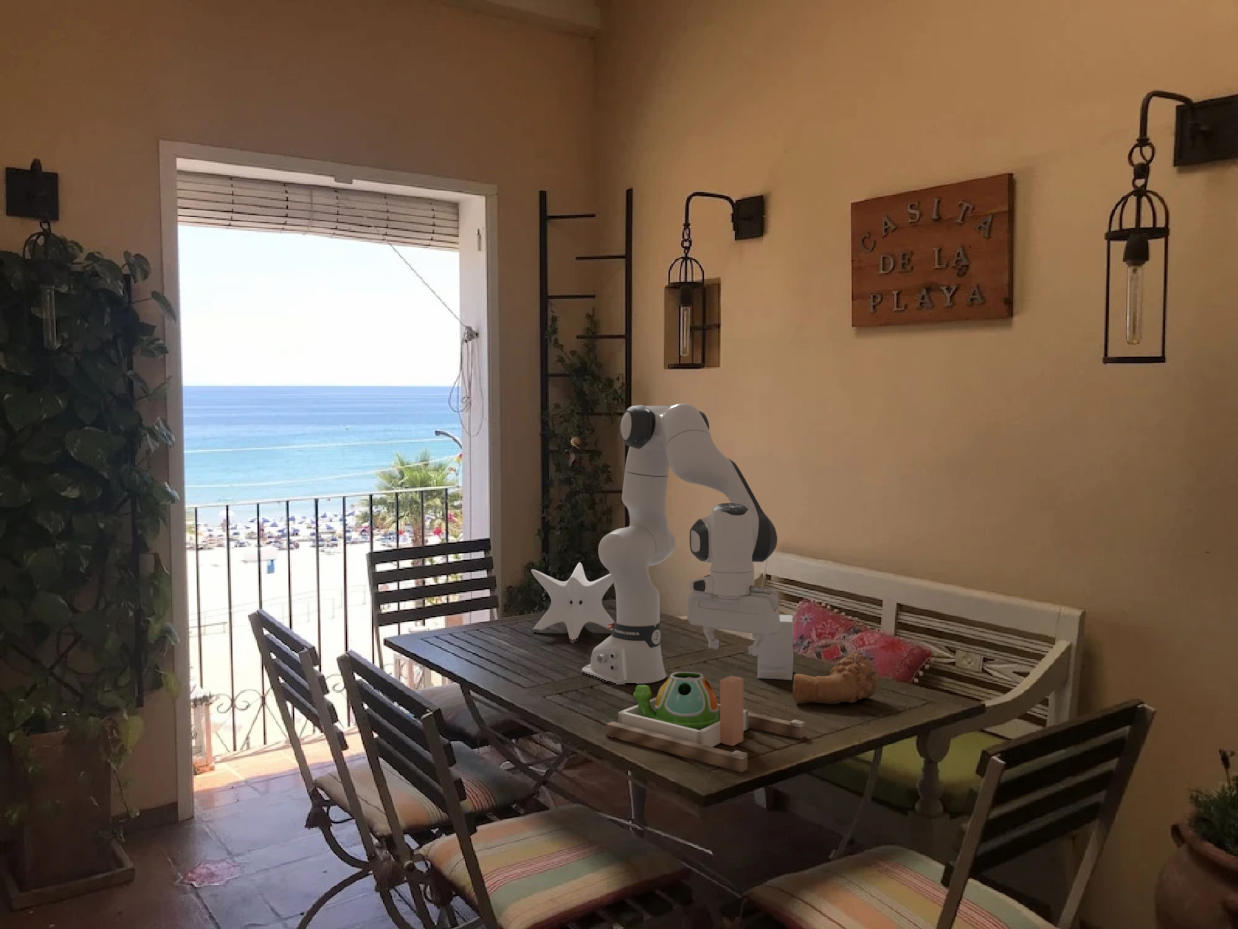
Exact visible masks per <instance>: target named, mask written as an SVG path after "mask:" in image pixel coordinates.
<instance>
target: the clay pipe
mask: <svg viewBox="0 0 1238 929" xmlns="http://www.w3.org/2000/svg"><path fill="white" fill-rule="evenodd" d="M880 680H881V678H880V676H879V673H878V671H877V669H876V668H875V666H874V663H872V662H871V661H870V659H869V658H868V657H866V656H864V655H863V654H859V653H850V654H849V655H847V656H846V657H844V658H842V659H841V660H840V662H837V663H836V665H834V666H833V667H832V669H831V670H830V672H829V675H826V676H825V675H824V676H821V675H817V676H810V675H807V674H803V673H795V674H794V675H793V685H792V696H793V699H794V702H795V703H796V704H807V703H820V704H821V703H825V704H834V703H844V702H845V703H849V704H854V703H856V702H858V701H860V700H862V699H866V698H871V697H873V696H874V695H875V694H876V693H877V691H878V690H879V687H880V682H881V681H880Z"/></svg>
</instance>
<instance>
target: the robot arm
mask: <svg viewBox="0 0 1238 929" xmlns="http://www.w3.org/2000/svg"><path fill="white" fill-rule="evenodd" d="M620 436H621V439H622V441H623V442H624V444H625V446H628V452H627V456H626V461H625V466H624V475H623V482H622V483H623V484H622V493H621V501H622V503H623V505H624V506H625V507H626V508H627V511H628V516H629V526H626V527H621V528H620V527H619V528H617V529H615V530H612V531H611V532H609V533H607V534H606V535H604V536H603V537H602V538H601V540H600V542H599V544H598V549H597V550H598V558H599V560H600V562H601V564H602V565H603V567H605V568H606V569H607V570H608V572H609V574H611V577H612V579H613V586H614V590H615V599H616V600H615V602H616V603H615V604H616V607H615V608H616V621H615V620H614V623H612V624H609V625H611V626H610V627H609V628H608V629H607V630H609V629H610V628H613V630H612V631H611V633H610V636H608V637H606V638H605V639H604V640H603V641H602V642H601V643H599V644H597V645H596V646H595V647H594V648H593V650H592V652H591V656H590V663H589V664H587V665H585V666H583V667H582V669H581V672H582V671H583V672H585V673H587V674H590V675H594V676H597V677H599V678H601V679H604V680H606V681H605V682H607V681H611V682H613V683H616V684H615V685H626V684H625V683H636V685H637V684H638V685H641V684H651V683H656V682H661V681H662V680H664V679H666V678H667V674H666V670H665V666H664V660H663V656H662V655H663V654H662V648H661V647H662V645H661V642H662V621H660V620H661V619H660V618H661V617H660V614H661V613H660V592H659V590H658V588H657V587H656V586H654V584H653V582H652V578H651V576H650V572H649V568H650V567H652V566H656V565H659V564H662V563H663V562H664V561H665V560H667V559H668V558H669V559H670V557H671V556H672V555H673V553H674V552H675V548H676V539H675V535H674V533H673V532H672V530H671V529H670V527H669V524H668V519H667V514H666V513H667V512H666V501H667V500H666V497H667V491H668V490H667V488H668V480H669V471H670V470H669V469H671V471H672V472H673V474H674V475H675V476H677V477H678V478H680V479H681V480H682V481H685V482H686V483H689V484H693V485H698V486H702V487H707V488H710V489H713V490H715V491H718V492H720V493H722V494H723V495H725V497H727V498H728V500H729V502H722V503H719V504H716V505H714V506H713V507H712V509H711V513H710V514H709V515H707V516H705V517H703V518H698V519H697V520H696V521H695V522H694V524H693V525H692V526H691V527H690V529H689V550H690V553H691V554H692V555H693V556H694V557H695V558H696V559H698V561H700V562H703V563H711V566H710V572H709V573H710V574H707V575H703V576H704V577H699V578H696V579H693V580H691V581H690V582H689V585H688V586H689V590H690V591H691V592H689V595H688V598H687V607H686V608H687V610H686V612H687V614H686V615H687V620H688V622H689V624H690V625H691V626H697V627H702V631H703V634H704V636H705V638H706V639H707V641H708V644H707V645H708V649H709V650H710V649H711V650H717V649H719V647H720V644H719V643H720V639H717V638H716V637H715V634H714V631H715V629H716V630H718V629H719V630H725V631H731V632H737V633H738V632H741V633H745V634H752V640H754V641H753V643H752V644H750V645H748V646H747V654H748V655H749V656H753V657H757V656H758V654H759V645H760V644H761V642H762V640H763V638H764V635H766V636H771V635H774V634H776V633H777V632H778V631H779V630H780V617H779V615H780V611H779V596H778V593H777V592H775V591H774V590H773V589H772V588H769V587H760V586H755V566H754V563H763V562H765V561H766V560H767V559H769V558H770V557H771V555H772V554H773V553H774V552H775V550H776V548H777V546H778V534H777V530H776V528H775V525H774V523H773V522H772V521H771V519H770V518H769V517H768V515H767V514H766V513H765V511H764V510H763V508H762V507H761V505H760V504H759V501H758V500H757V498H756V496H755V494H754V492H753V491H752V489H751V487H750V485H749V484H748V482H747V480H746V478H745V476H744V475H743V473H742V472H741V469H740V468H739V467H738V465H737V463H735V461H734V460H732V459H730V458H728V457H727V456H726V455H725V454H724V453H722V452H721V450H720V449H719V448H718V447H717V446H716V444H715V442H714V441H713V438H712V436H711V433H710V423H709V420H708V417H707V416H706V414H705V412H702V411H700V410H699V409H698V408H697V407H695V406H694V405H692V404H690V403H684V402H683V403H682V402H681V403H677V404H673V405H644V404H637V405H631V406H629V407H628V408H627V409H626V410H625V411H624V412H623V414H622V416H621V420H620ZM753 562H754V563H753ZM601 679H600V680H601ZM604 680H603V681H604ZM613 683H612V684H613Z"/></svg>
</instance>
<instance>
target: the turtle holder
mask: <svg viewBox="0 0 1238 929" xmlns="http://www.w3.org/2000/svg"><path fill="white" fill-rule="evenodd" d="M713 688H714V687H712V685H711V684H710V682H709V681H708V680H707V678H705V676H704V674H703V673H701V672H696V671H695V672H694V671H675V672H672V673H671V674H670V676H669V678H668V679H667V680H665V682H663V683H662V685H661V686H660V687H659V690H658V692H657V695H656V697H657V698H656V697H655V698H656V704H655V708H656V712H655V711H654V710H653V709H652V708H651V706H650V700H651V699H652V695H653V693H652V690H651V688H650V686H649V685H646V684H638V685H637V684H636V687H635V690H634V692H633V697H634V698H635V700H636V702H637V705H638V707H639V710H640V712H641V715H642V716H644V717H648V718H652V719H656V720H660V721H664V722H668V723H672V724H676V725H680V726H684V727H688V728H692V729H696V730H701V729H704V728H706V727H708V726H710V725H712V724H714V723H716V722H717V721H718V715H717V712H718V709H719V707H718V704H719V703H718V699H717V696H716V693H715V691H714V689H713ZM717 703H718V704H717Z"/></svg>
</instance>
